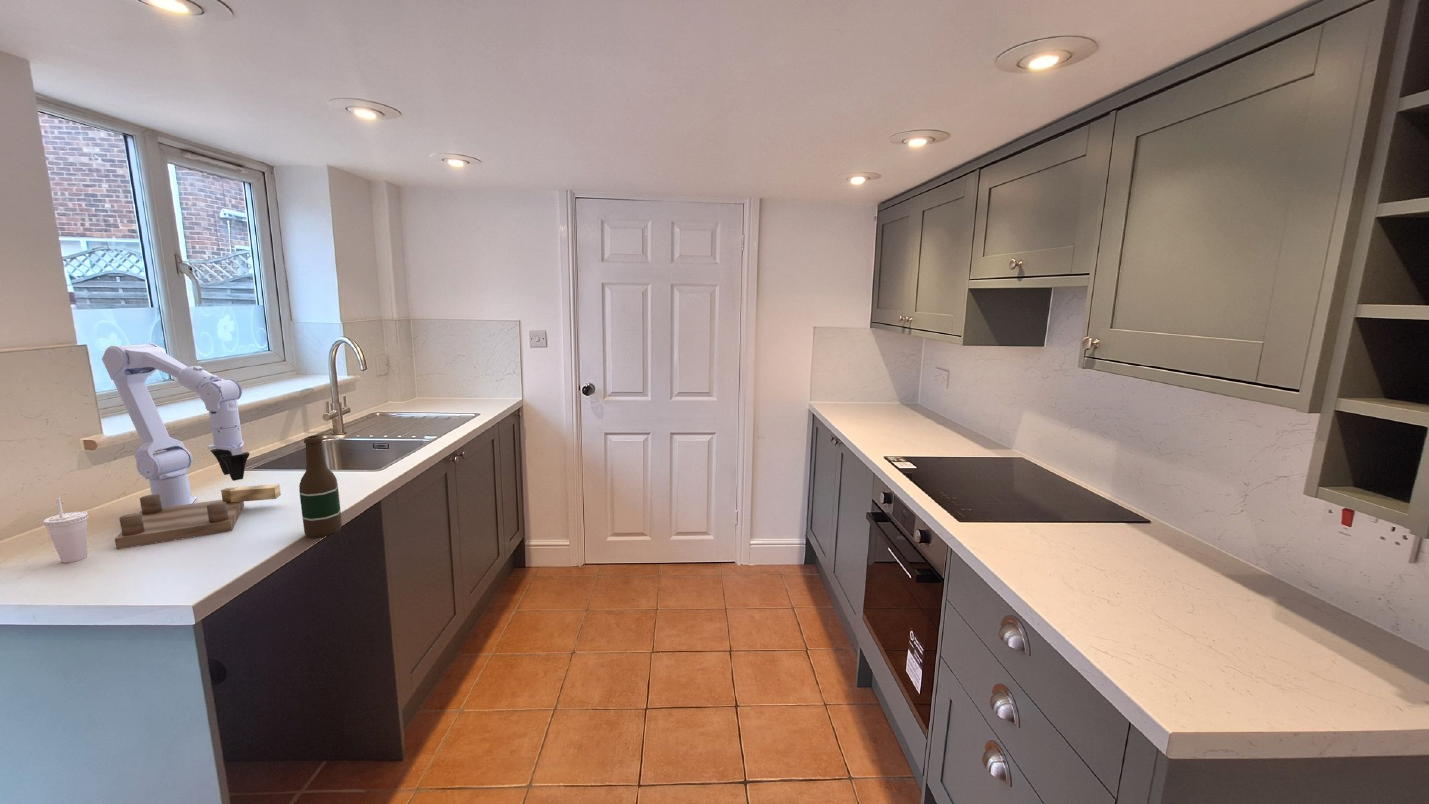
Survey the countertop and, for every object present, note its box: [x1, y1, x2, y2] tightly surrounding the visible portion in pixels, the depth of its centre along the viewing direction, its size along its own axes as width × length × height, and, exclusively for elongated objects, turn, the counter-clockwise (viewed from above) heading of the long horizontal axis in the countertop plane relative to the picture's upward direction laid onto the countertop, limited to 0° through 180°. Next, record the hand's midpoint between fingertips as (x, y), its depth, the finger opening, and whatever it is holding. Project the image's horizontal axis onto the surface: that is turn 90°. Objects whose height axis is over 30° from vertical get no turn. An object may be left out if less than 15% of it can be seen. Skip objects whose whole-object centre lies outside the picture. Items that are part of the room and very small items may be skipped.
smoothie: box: [42, 497, 90, 564], centre depth 120 cm, size 6×6×14 cm
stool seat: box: [114, 494, 245, 550], centre depth 139 cm, size 20×20×6 cm
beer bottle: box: [298, 435, 343, 539], centre depth 135 cm, size 8×8×24 cm
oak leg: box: [220, 483, 282, 503], centre depth 151 cm, size 12×3×3 cm, turn 108°
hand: (233, 476), depth 148 cm, fingers open, 7 cm apart
